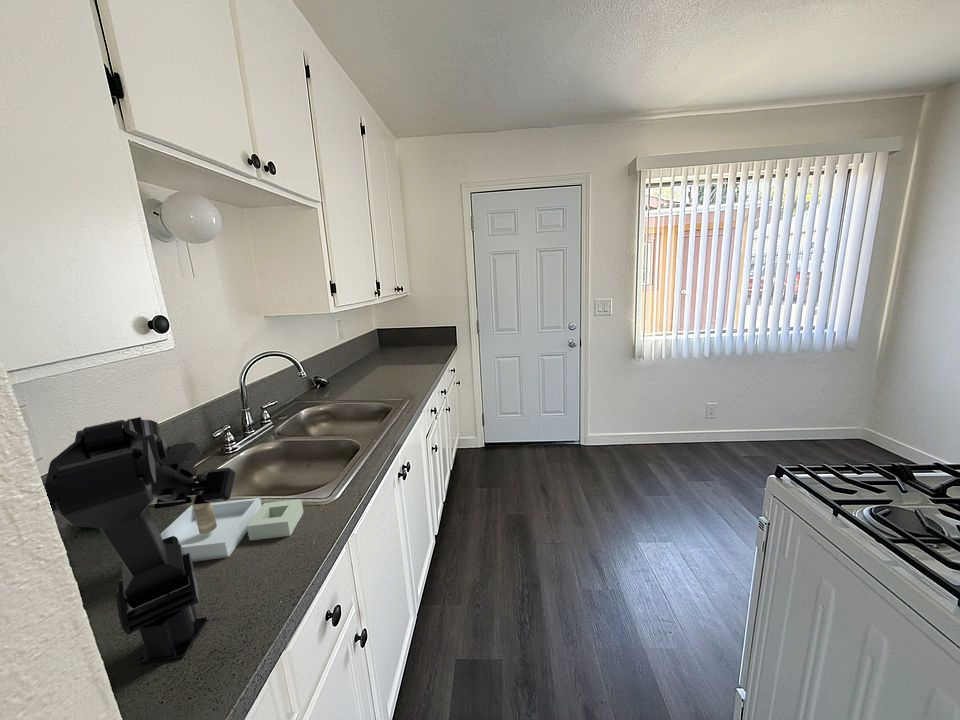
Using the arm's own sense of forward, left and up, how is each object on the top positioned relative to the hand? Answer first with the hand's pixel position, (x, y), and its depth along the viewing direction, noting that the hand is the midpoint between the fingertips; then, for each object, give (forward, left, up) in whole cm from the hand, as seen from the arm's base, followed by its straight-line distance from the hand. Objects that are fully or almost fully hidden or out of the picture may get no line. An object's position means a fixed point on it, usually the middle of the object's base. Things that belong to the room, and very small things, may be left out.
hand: (205, 498), depth 83 cm
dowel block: (0, -14, -8) cm, 16 cm away
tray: (-1, 0, -8) cm, 9 cm away
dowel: (-1, 0, -7) cm, 7 cm away
